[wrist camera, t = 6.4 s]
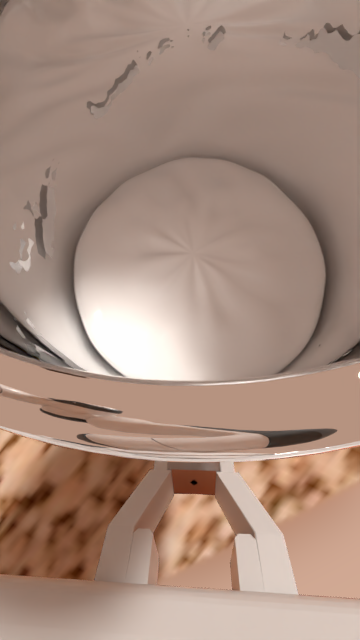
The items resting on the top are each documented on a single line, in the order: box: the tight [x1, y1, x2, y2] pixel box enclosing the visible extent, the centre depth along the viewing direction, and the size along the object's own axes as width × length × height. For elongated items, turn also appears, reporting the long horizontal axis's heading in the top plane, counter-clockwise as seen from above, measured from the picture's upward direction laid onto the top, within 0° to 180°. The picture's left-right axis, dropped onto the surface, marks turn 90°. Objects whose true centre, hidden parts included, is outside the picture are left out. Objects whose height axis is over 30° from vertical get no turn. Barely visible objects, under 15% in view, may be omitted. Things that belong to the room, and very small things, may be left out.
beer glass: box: [0, 0, 360, 463], centre depth 9 cm, size 7×7×15 cm
